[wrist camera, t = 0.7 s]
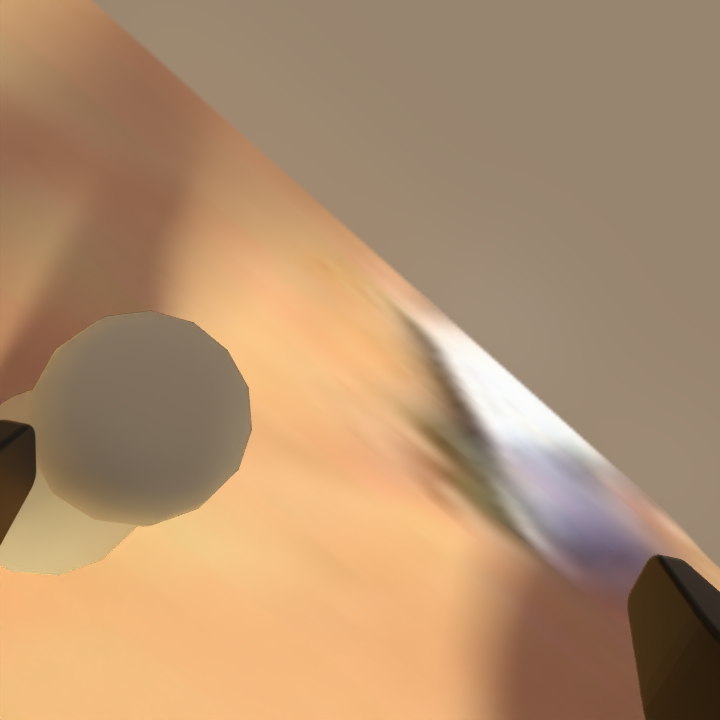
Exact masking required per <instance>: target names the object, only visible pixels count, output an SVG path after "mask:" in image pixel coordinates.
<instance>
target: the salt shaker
mask: <svg viewBox="0 0 720 720" xmlns="http://www.w3.org/2000/svg"><path fill="white" fill-rule="evenodd" d="M3 419H5V420H12V421H16V422H21V423H26V424H30V425H31V426H32V427H33V428H34V430H35V436H36V478H35V481H34V484H33V487H32V489H31V491H30V493H29V494H28V496H27V498H26V500H25V502H24V504H23V505H22V507H21V509H20V511H19V513H18V514H17V516H16V518H15V520H14V522H13V524H12V525H11V527H10V529H9V531H8V533H7V535H6V536H5V538H4V540H3V542H2V544H1V546H0V565H1V566H3V567H5V568H6V569H8V570H10V571H11V572H20V573H32V574H45V575H57V576H59V575H62V574H64V573H67V572H70V571H73V570H75V569H78V568H81V567H84V566H86V565H89V564H92V563H95V562H97V561H100V560H102V559H103V558H104V557H105V556H106V555H107V554H109V553H110V552H111V551H112V550H113V549H114V548H115V547H116V546H117V545H118V544H119V543H120V542H121V541H122V540H123V539H125V538H126V537H127V536H128V535H129V534H130V533H131V532H132V531H133V530H134V529H135V528H136V527H137V526H149V525H154V524H157V523H160V522H163V521H165V520H168V519H171V518H174V517H176V516H179V515H182V514H185V513H188V512H190V511H193V510H196V509H198V508H199V507H200V506H201V505H202V504H204V503H205V502H206V501H207V500H208V499H209V498H210V497H211V496H212V495H213V494H214V493H215V492H216V491H217V490H218V489H219V488H220V487H221V486H222V485H223V484H224V483H225V482H226V481H227V480H228V479H229V478H230V477H231V476H232V475H233V474H234V473H235V472H237V471H238V470H239V467H240V464H241V461H242V458H243V455H244V452H245V449H246V446H247V443H248V440H249V437H250V434H251V431H252V424H251V412H250V400H249V388H248V386H247V384H246V382H245V380H244V379H243V377H242V375H241V373H240V371H239V370H238V368H237V366H236V364H235V363H234V361H233V359H232V357H231V355H230V354H229V352H228V350H227V349H225V348H224V347H223V346H222V345H221V344H219V343H218V342H217V341H216V340H215V339H213V338H212V337H211V336H210V335H208V334H207V333H206V332H205V331H204V330H202V329H201V328H200V327H199V326H197V325H196V324H195V323H194V322H190V321H186V320H183V319H179V318H176V317H172V316H168V315H165V314H161V313H158V312H154V311H145V312H137V313H129V314H121V315H113V316H105V317H104V318H102V319H100V320H98V321H96V322H94V323H93V324H92V325H90V326H89V327H87V328H86V329H84V330H83V331H81V332H80V333H78V334H77V335H76V336H74V337H73V338H71V339H70V340H68V341H67V342H65V343H64V344H62V345H61V346H59V347H58V348H57V349H55V351H54V353H53V355H52V356H51V358H50V360H49V362H48V363H47V365H46V367H45V369H44V371H43V372H42V374H41V376H40V378H39V380H38V381H37V383H36V385H35V387H34V388H33V390H30V391H27V392H24V393H21V394H18V395H15V396H13V397H11V398H9V399H8V400H6V401H5V402H4V403H2V404H1V405H0V420H3Z"/></svg>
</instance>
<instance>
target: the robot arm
mask: <svg viewBox="0 0 720 720" xmlns="http://www.w3.org/2000/svg"><path fill="white" fill-rule="evenodd" d="M35 478H36V436H35V430H34V428H33V427H32V426H31V425H30V424H26V423H21V422H16V421H12V420H5V419H3V420H0V546H1V544H2V542H3V540H4V538H5V536H6V535H7V533H8V531H9V529H10V527H11V525H12V524H13V522H14V520H15V518H16V516H17V514H18V513H19V511H20V509H21V507H22V505H23V504H24V502H25V500H26V498H27V496H28V494H29V493H30V491H31V489H32V487H33V484H34V481H35ZM628 616H629V623H630V629H631V636H632V642H633V649H634V655H635V662H636V668H637V675H638V681H639V688H640V695H641V700H642V705H643V711H644V715H645V719H646V720H720V592H719V591H718V590H717V589H716V588H715V587H714V586H713V585H711V584H710V583H709V582H708V581H707V580H706V579H705V578H703V577H702V576H701V575H700V574H699V573H698V572H697V571H695V570H694V569H693V568H692V567H691V566H690V565H689V564H687V563H686V562H685V561H683V560H681V559H678V558H673V557H668V556H663V555H654V556H652V557H651V558H649V560H648V561H647V563H646V565H645V566H644V568H643V570H642V572H641V574H640V575H639V577H638V579H637V581H636V583H635V584H634V586H633V588H632V590H631V592H630V594H629V598H628Z"/></svg>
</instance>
